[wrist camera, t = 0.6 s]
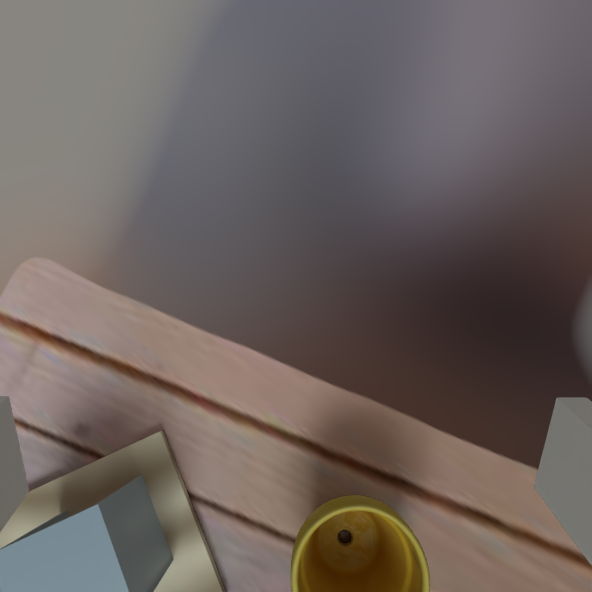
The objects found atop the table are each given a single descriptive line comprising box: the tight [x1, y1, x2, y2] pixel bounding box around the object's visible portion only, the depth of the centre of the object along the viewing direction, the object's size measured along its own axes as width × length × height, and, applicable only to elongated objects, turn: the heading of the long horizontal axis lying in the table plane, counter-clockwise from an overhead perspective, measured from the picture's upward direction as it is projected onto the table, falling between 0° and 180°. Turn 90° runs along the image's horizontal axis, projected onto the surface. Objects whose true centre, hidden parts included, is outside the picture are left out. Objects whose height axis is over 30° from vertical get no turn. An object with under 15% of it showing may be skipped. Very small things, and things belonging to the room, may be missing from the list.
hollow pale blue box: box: [0, 475, 174, 592], centre depth 36 cm, size 8×8×10 cm
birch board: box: [0, 430, 226, 592], centre depth 41 cm, size 16×30×1 cm, turn 114°
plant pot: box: [291, 495, 430, 592], centre depth 38 cm, size 10×10×10 cm
